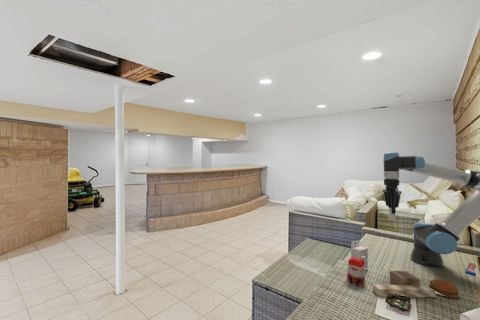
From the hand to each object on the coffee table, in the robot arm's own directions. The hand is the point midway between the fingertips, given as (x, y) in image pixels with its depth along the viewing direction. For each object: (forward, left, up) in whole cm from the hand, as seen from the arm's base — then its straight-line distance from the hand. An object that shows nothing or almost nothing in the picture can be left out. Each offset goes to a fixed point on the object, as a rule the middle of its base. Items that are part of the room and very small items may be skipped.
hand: (392, 218), depth 130 cm
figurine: (+32, +22, -27) cm, 47 cm away
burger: (-2, +30, -27) cm, 40 cm away
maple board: (+17, +32, -26) cm, 45 cm away
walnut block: (+12, +26, -27) cm, 39 cm away
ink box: (+23, +7, -27) cm, 36 cm away
